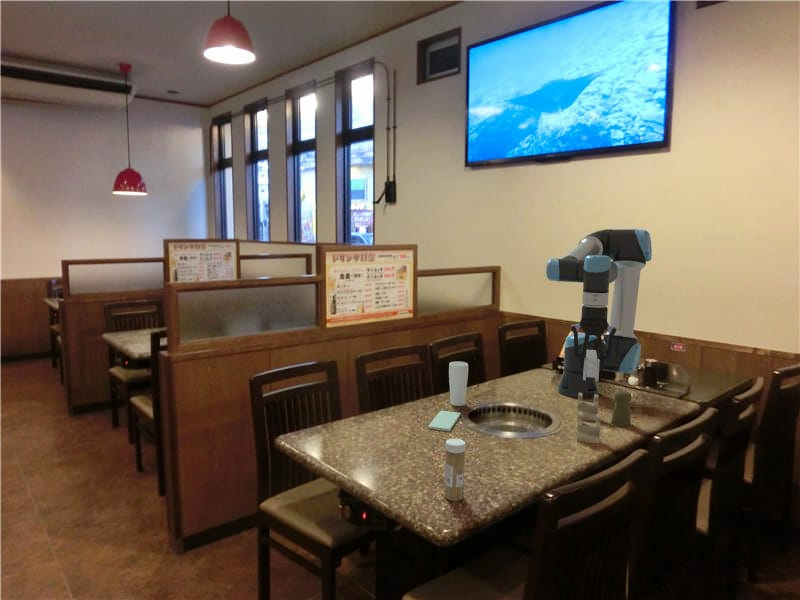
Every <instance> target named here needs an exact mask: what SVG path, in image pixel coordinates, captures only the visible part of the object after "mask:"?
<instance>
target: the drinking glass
mask: <svg viewBox="0 0 800 600" xmlns="http://www.w3.org/2000/svg"><path fill="white" fill-rule="evenodd" d="M448 378H449V379H448V382H449V397H450V399H449V403H450V405H451V406H453V407H463V406H465V404H466V396H467V387H468V386H467V385H468V378H469V364H468V362H465V361H451V362H449V365H448Z"/></svg>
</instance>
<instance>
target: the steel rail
mask: <svg viewBox="0 0 800 600" xmlns="http://www.w3.org/2000/svg"><path fill="white" fill-rule="evenodd" d="M586 358H587V365H586V373H587V377H594V378H598V362H597V354H596V350H586Z"/></svg>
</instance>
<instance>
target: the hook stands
mask: <svg viewBox="0 0 800 600" xmlns="http://www.w3.org/2000/svg"><path fill="white" fill-rule="evenodd" d="M577 399H578V401H577V416H576V417H577V433H576V442H580V443H581V442H582V443H588V442H589V444H595V443H597V444H596V445H599V444H600V437H601V435H600V434H601V419H602V418H601V417H602V416H601V414H600V413H599V412H598V411H599V410H598V409H599V395H595V394H594V398H593V402H588V401H583V398H582V393H579V396H578V398H577ZM598 413H599V414H598ZM587 419H588V421H595V420H596V421H595V423H593V422H584V421H583V420H587Z"/></svg>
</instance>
